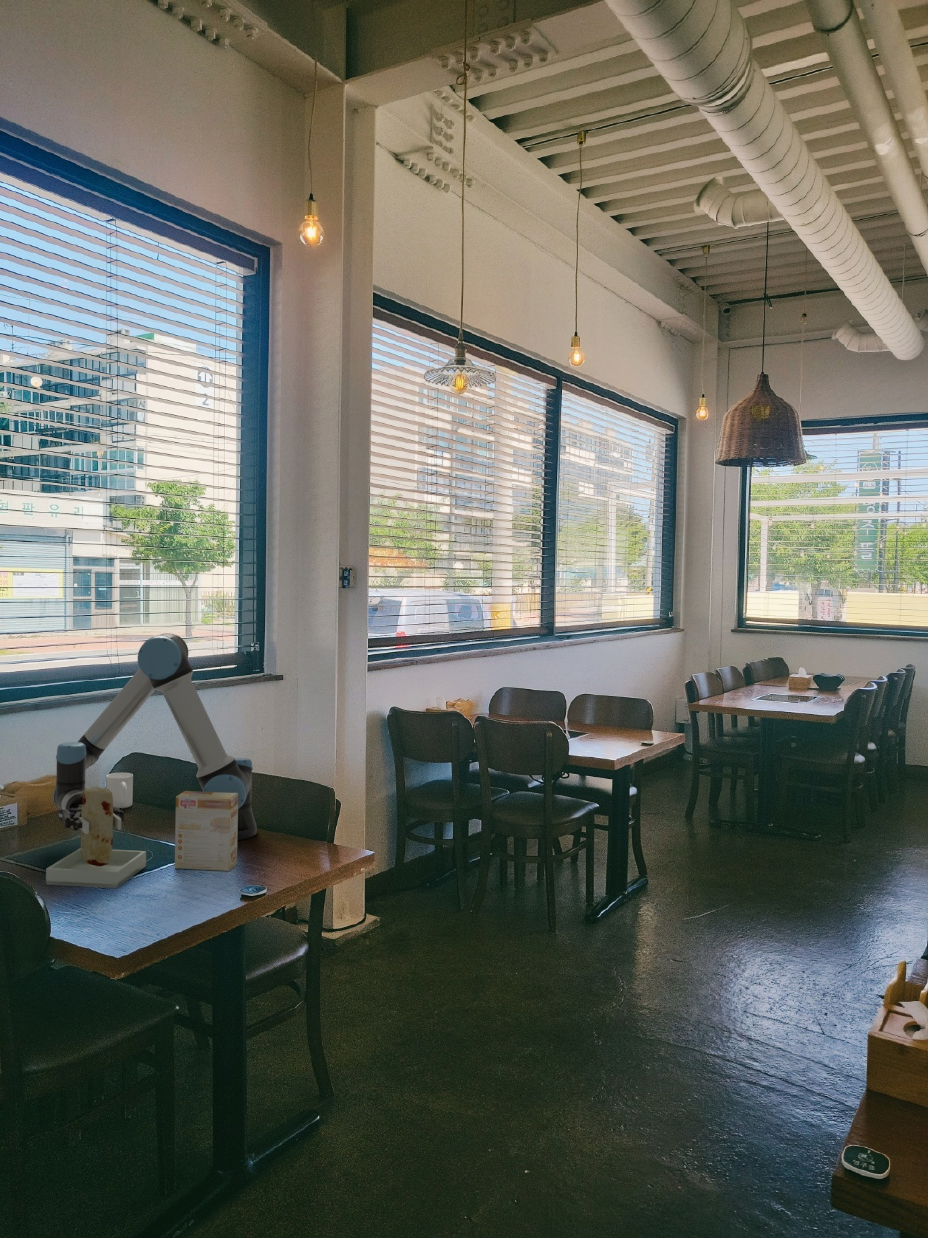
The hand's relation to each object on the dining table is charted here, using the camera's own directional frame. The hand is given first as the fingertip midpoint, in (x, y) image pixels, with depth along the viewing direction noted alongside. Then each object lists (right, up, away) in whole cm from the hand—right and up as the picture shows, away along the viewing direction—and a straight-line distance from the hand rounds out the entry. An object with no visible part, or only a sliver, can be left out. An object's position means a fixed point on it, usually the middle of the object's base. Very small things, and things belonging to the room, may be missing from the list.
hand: (103, 826), depth 236 cm
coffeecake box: (+22, -14, +15) cm, 30 cm away
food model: (-3, -11, +4) cm, 12 cm away
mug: (-23, -10, +73) cm, 77 cm away
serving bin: (-3, -14, +5) cm, 15 cm away
